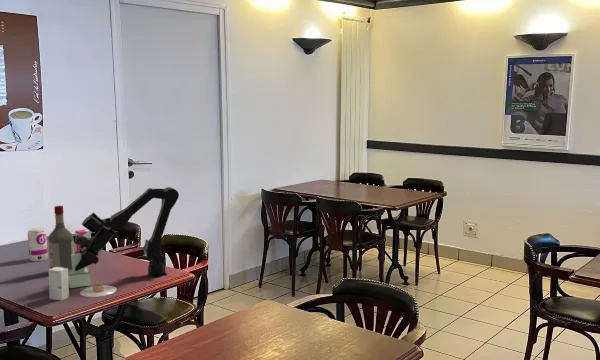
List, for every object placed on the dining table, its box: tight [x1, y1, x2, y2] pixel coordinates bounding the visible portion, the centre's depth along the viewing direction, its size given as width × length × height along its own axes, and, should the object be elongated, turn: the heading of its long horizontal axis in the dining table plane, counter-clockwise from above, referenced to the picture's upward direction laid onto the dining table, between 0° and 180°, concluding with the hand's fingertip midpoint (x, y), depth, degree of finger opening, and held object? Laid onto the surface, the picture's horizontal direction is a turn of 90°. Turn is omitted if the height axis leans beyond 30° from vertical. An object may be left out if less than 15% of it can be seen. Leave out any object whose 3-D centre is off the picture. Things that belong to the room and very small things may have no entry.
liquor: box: [48, 205, 75, 270], centre depth 262 cm, size 9×9×30 cm
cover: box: [68, 253, 91, 289], centre depth 243 cm, size 8×8×12 cm
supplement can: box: [27, 227, 49, 262], centre depth 285 cm, size 8×8×15 cm
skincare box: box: [48, 267, 70, 301], centre depth 227 cm, size 6×4×12 cm
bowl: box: [92, 282, 104, 293], centre depth 235 cm, size 4×4×3 cm
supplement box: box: [74, 228, 92, 254], centre depth 297 cm, size 6×6×12 cm
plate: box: [79, 285, 118, 298], centre depth 235 cm, size 14×14×1 cm
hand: (74, 268), depth 242 cm, fingers closed on cover, 4 cm apart
